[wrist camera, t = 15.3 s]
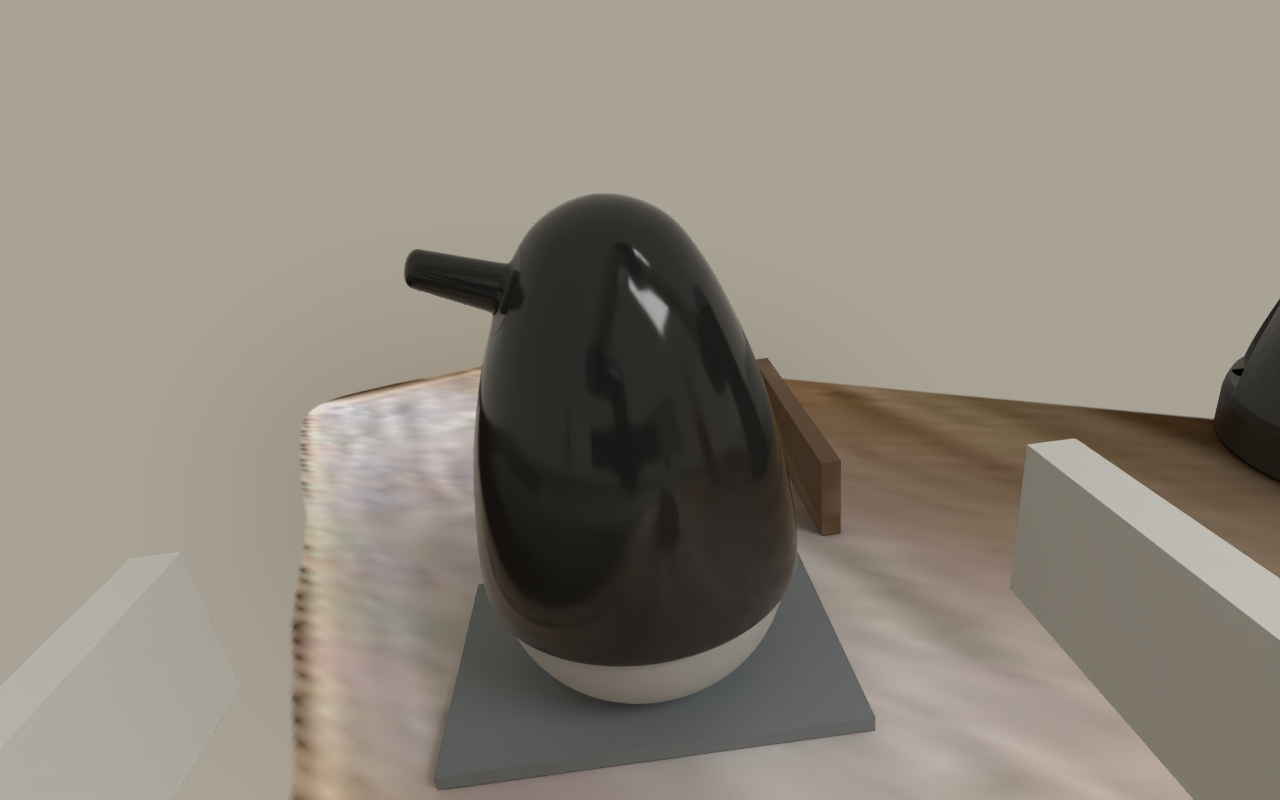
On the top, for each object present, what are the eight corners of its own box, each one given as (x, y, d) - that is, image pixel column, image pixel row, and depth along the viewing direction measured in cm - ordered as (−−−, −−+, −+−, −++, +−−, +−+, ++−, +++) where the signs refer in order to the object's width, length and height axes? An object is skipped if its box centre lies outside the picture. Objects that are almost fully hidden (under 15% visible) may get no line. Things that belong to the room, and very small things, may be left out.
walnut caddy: (769, 413, 42) (767, 358, 41) (840, 532, 30) (840, 460, 29) (542, 442, 42) (532, 387, 40) (524, 574, 30) (509, 503, 29)
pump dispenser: (497, 584, 29) (409, 201, 23) (740, 531, 30) (717, 159, 24) (504, 805, 19) (360, 256, 14) (855, 713, 21) (862, 184, 15)
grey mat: (793, 553, 29) (793, 543, 29) (875, 730, 21) (875, 717, 21) (480, 594, 29) (478, 584, 29) (438, 790, 21) (434, 777, 21)
